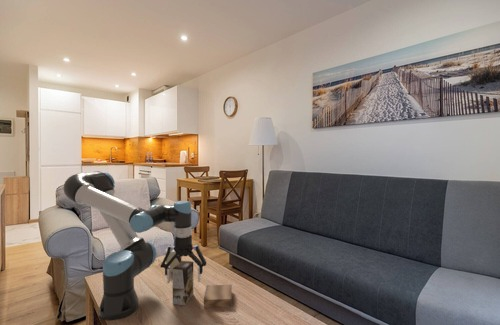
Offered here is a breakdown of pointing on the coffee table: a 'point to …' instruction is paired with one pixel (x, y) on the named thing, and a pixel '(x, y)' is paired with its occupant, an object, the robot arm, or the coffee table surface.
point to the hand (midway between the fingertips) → (184, 281)
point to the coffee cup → (176, 260)
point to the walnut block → (217, 296)
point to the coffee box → (182, 282)
